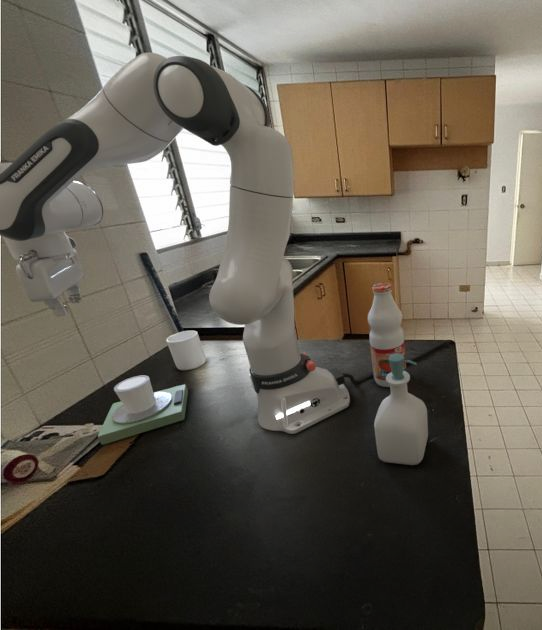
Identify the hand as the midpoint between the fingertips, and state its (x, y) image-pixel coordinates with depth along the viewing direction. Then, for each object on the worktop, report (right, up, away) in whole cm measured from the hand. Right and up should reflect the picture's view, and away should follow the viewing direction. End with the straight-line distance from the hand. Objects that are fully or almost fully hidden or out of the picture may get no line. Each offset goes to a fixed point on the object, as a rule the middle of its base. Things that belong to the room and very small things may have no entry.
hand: (70, 308), depth 76 cm
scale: (+10, -27, +10) cm, 31 cm away
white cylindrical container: (+9, -25, +8) cm, 28 cm away
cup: (+3, -17, +34) cm, 38 cm away
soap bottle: (+76, -30, -5) cm, 82 cm away
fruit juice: (+71, -20, +20) cm, 76 cm away
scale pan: (+10, -25, +9) cm, 28 cm away
